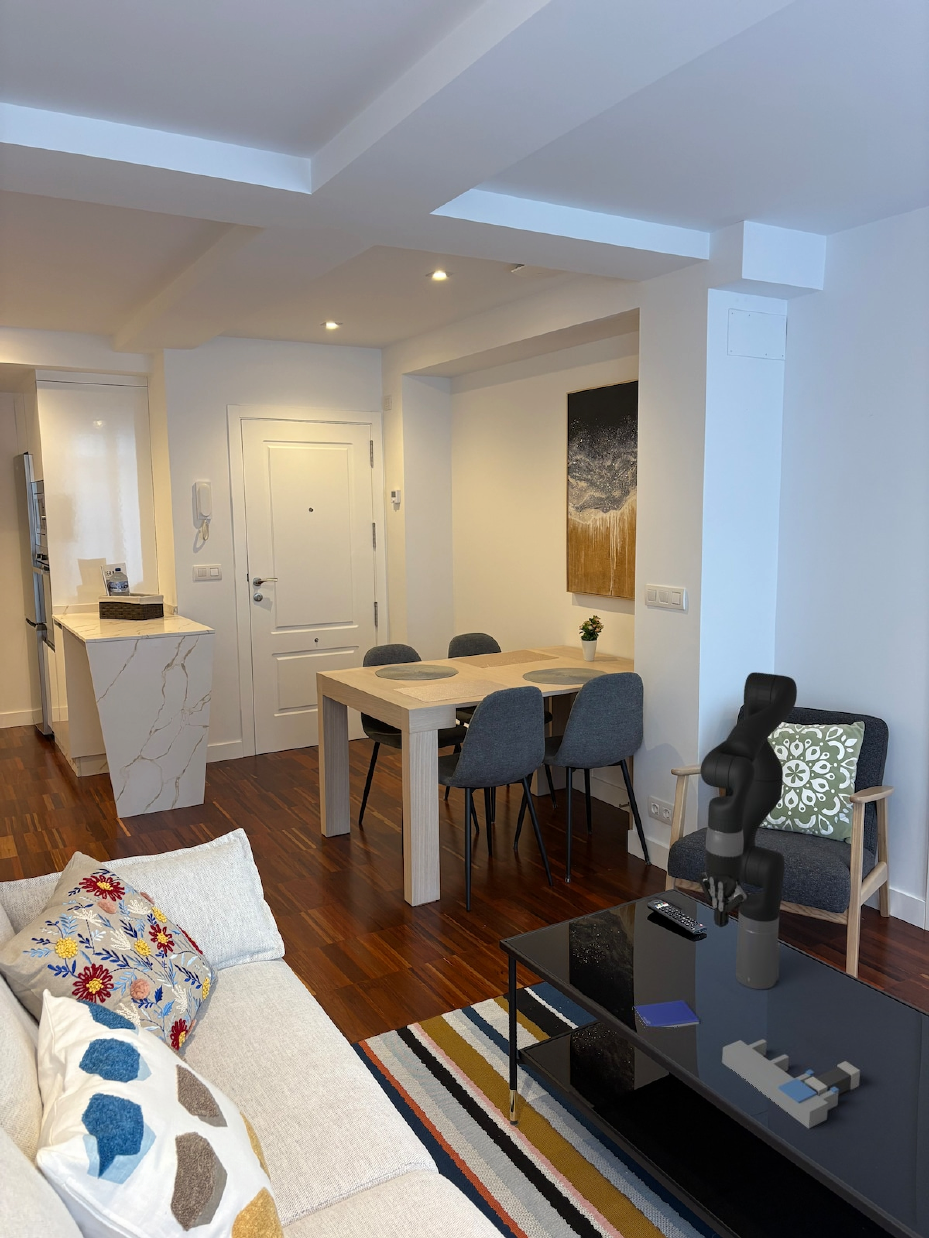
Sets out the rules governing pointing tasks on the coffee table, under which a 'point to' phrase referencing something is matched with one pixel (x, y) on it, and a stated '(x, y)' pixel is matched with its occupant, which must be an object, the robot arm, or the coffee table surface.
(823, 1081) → the dark grey capped bar
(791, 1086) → the pronged holder rack
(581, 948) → the coffee table surface
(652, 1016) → the hard drive
